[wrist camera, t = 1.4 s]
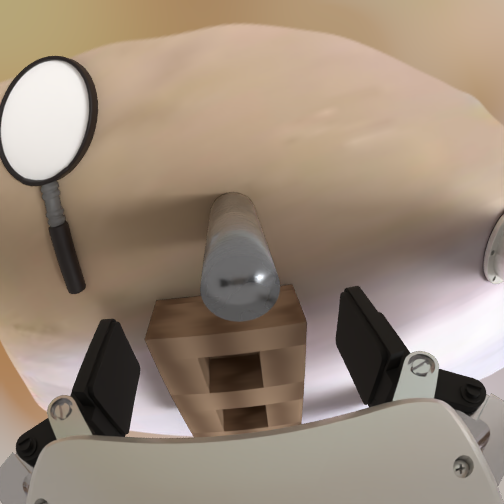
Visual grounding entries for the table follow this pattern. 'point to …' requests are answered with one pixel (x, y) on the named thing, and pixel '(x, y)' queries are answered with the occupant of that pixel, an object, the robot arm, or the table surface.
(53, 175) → the magnifying glass
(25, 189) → the table surface
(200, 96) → the table surface
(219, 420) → the brown rectangular block
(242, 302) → the steel pin
